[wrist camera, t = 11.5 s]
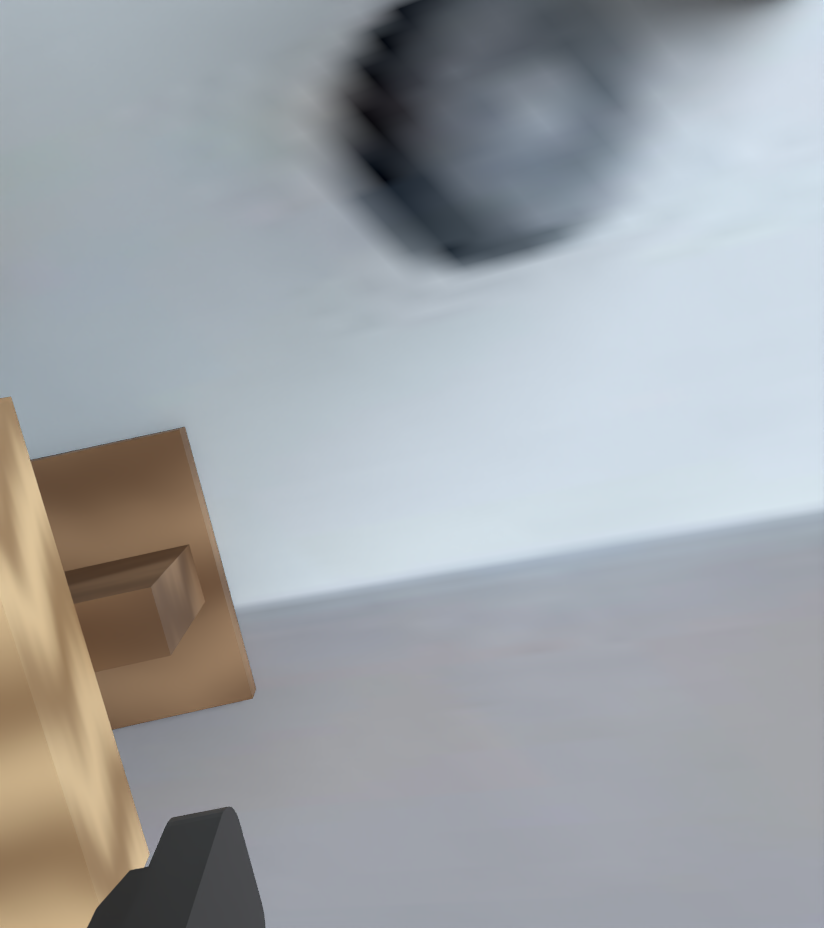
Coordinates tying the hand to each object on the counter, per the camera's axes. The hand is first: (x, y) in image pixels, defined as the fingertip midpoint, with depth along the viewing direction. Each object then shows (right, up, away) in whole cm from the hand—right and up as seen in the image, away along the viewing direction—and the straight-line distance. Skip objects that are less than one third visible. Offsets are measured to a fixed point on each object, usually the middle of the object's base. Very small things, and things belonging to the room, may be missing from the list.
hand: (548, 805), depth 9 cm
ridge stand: (-18, -2, +26) cm, 32 cm away
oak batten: (-17, -3, +19) cm, 26 cm away
